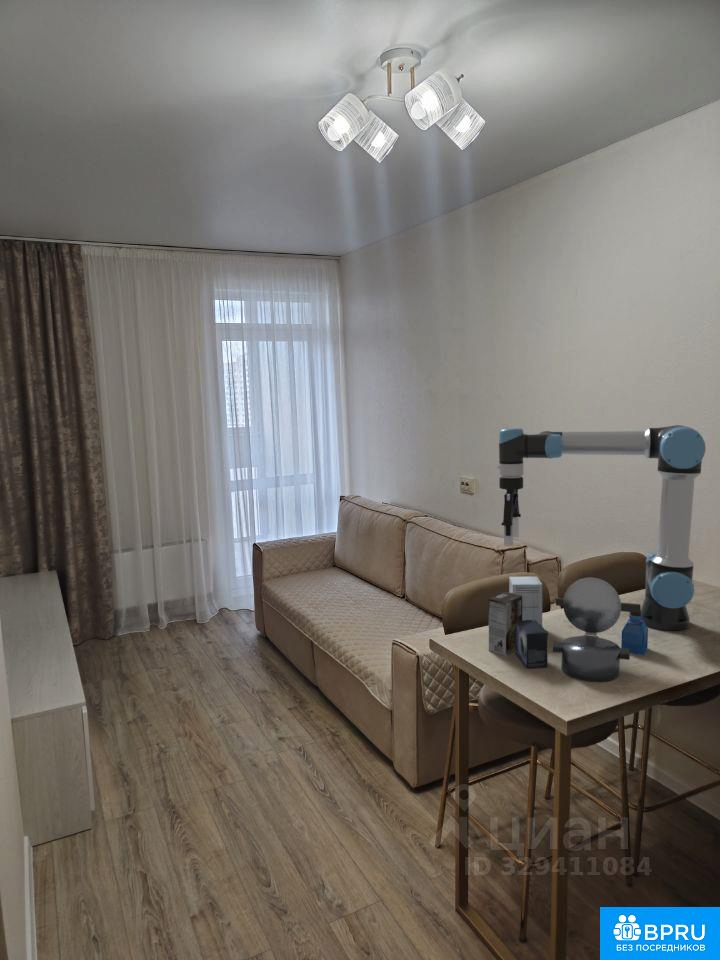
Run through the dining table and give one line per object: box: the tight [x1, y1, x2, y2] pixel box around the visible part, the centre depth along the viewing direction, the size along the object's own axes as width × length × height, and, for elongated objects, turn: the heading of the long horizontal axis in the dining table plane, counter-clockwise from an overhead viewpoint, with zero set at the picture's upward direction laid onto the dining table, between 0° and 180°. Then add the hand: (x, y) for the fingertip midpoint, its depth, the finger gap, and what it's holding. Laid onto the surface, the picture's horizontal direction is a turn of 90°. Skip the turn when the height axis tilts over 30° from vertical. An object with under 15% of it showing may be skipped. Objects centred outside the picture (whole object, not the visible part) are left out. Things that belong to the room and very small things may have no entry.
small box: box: [514, 620, 549, 670], centre depth 186 cm, size 11×6×10 cm, turn 5°
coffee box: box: [488, 591, 522, 657], centre depth 195 cm, size 9×6×16 cm
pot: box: [551, 634, 631, 683], centre depth 180 cm, size 20×16×7 cm
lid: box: [555, 577, 642, 636], centre depth 187 cm, size 23×16×2 cm
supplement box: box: [508, 576, 543, 627], centre depth 210 cm, size 10×9×17 cm
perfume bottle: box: [620, 609, 649, 657], centre depth 192 cm, size 6×6×12 cm
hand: (511, 541), depth 214 cm, fingers open, 13 cm apart
